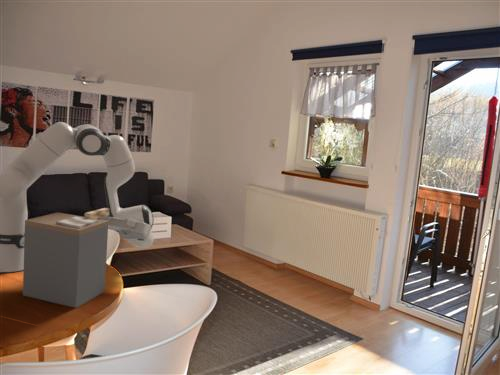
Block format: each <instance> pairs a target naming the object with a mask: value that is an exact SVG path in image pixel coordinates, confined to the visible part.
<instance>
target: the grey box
mask: <svg viewBox="0 0 500 375" xmlns="http://www.w3.org/2000/svg"><path fill="white" fill-rule="evenodd" d="M72 217H82V218H85V216H80V215H75V214H69V213H64V212H59V211H57V212H54V213H49V214H46V215H42V216H37V217H33V218H27V220H25V237H24V270H23V277H22V278H23V279H22V280H23V281H22V283H23V284H22V296H25V297H29V298H33V299H36V300H40V301H41V300H42V301H45V302H50V303H53V304H58V305H63V306H67V307H69V308H75V309H77V308H79V307H81V306H82V305H84V304H85V303H88V302H89V301H91V300H93V299H94V298H96V297H97V296H99V295H101V294H103V293H105V290H106V272H107V271H106V270H107V254H108V253H107V252H108V238H109V236H108V235H109V229H108V221H104V220H100V218H98V219H95V220H98V223H96V224H92V225H89V226H86V227H83V228H75V227H69V226H64V225H58V224H56V222H57V221H61V220H64V219H68V218H72Z"/></svg>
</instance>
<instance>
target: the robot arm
mask: <svg viewBox="0 0 500 375" xmlns="http://www.w3.org/2000/svg"><path fill="white" fill-rule="evenodd" d="M74 148H77V149H78V151H79V152H80V153H81V154H83V155H86V156H89V157H90V156H91V157H93V156H101V157H102V158H103V160H104V163H105V166H106V168H107V174H106V176H105V177H104V180H103V187H104V192H105V199H106V205H107V208H109V209H110V210H109V215H108V216H105V217H101V218H99V220H104V221H108V230H111V231H115V232H117V233H119V236H120V237H121V238H122V239H123V240H125V241H126V242H128V243H130V244H132V245H133V246H134V247H137V248H139V249H147V248H149V247H150V246H152V244H153V243H154V238H155V237H154V234H153V232H152V228H153V225H154V222H155V221H154V214H153V212H152V209H150V208H149V206H147V205H146V204H140V205H134V206H130V207H125V208H123V207H120V203H119V202H120V201H119V197H118V189H119V187H121V186H122V185H124V184H126V183H127V182H128V181H129V180H130V179H132V178H133V176H134V174H135V171H136V164H135V161H134V158H133V155H132V151H131V150H130V148H129V146H128V144H127V142H126V140H125V138H123V136H121V135H118V134H111V135H105V134H104V133H103V132H102V130H101V129H100V128H99V127H98V126H96V125H95V124H93V123H90V122H88V123H87V122H86V123H81V124H77V125H74V126H72V125H70V124H68V123H66V122H63V121H58V122H55V123H54V124H52V125H50V126H49V127H48V128H46V129H45V130H44V131H43V132H41V133H40V135H38V136H37V137H36V138H35V139H34V140H33V141H32V142H31V143H30V144H29V145H28V146H27V147H26V148H25V149H23V150H22V152H21V153H19V155H17V157H16V158H14V159H13V160H12V161H11V162H10V164H8V165H7V166H6V167H5V168H4V169H3V170H1V171H0V273H13V272H20V271H24V237H25V220H28V217H29V216H28V214H29V212H28V203H27V202H28V201H27V191H28V189H29V188H30V187H31V186H32V185H33V184H34V183H35V182H36V181H37V180H38V179H40V177H42V175H43V174H44V173H46V172H47V171H48V170H49V169H50V168H51V167H52V166H53V165H54V164H55V163H56V162H57V161H58V160H60V158H62V156H64V154H65V153H66V152H67V151H69V150H70V149H74Z"/></svg>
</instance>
